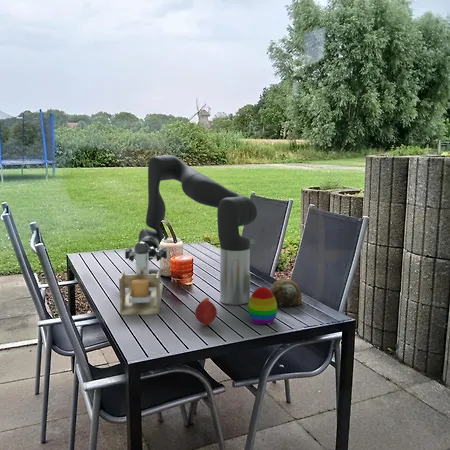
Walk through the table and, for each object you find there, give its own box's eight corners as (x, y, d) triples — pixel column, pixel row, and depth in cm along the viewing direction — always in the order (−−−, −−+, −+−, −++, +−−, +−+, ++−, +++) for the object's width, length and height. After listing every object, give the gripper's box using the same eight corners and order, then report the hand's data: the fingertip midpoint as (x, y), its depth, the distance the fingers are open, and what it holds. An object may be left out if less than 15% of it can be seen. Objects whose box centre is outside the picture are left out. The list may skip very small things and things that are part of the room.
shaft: (153, 288, 146) (152, 240, 143) (149, 302, 133) (148, 249, 130) (134, 288, 146) (132, 240, 143) (128, 302, 133) (127, 249, 130)
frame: (162, 286, 159) (162, 256, 158) (158, 314, 133) (157, 277, 132) (131, 287, 158) (130, 256, 157) (120, 315, 132) (119, 278, 131)
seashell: (280, 311, 137) (281, 285, 135) (263, 302, 145) (263, 277, 143) (310, 305, 142) (311, 280, 140) (292, 297, 150) (293, 273, 149)
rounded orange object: (149, 291, 138) (149, 278, 138) (148, 296, 133) (147, 283, 133) (132, 291, 138) (132, 279, 137) (130, 297, 133) (130, 284, 132)
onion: (197, 330, 122) (197, 301, 120) (193, 322, 127) (193, 295, 126) (218, 328, 123) (219, 300, 122) (213, 320, 129) (213, 293, 127)
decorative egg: (262, 314, 134) (263, 281, 133) (282, 322, 128) (283, 287, 126) (241, 320, 129) (242, 286, 127) (262, 329, 123) (263, 293, 121)
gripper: (128, 237, 167) (122, 247, 151) (168, 237, 168) (166, 247, 152) (129, 257, 168) (123, 269, 152) (168, 257, 169) (166, 269, 154)
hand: (144, 258), depth 152 cm, fingers open, 8 cm apart
